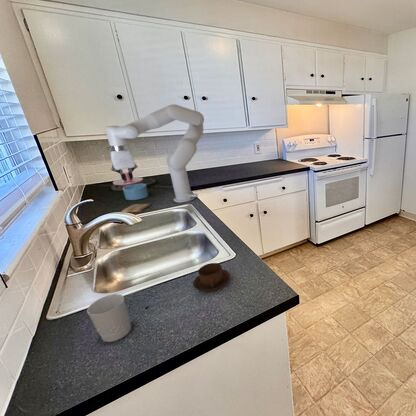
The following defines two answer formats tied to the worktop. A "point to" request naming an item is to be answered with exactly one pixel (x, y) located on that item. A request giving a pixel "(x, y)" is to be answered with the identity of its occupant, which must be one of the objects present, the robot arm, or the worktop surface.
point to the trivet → (136, 208)
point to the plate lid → (127, 180)
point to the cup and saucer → (211, 277)
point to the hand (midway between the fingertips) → (128, 179)
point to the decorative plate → (145, 181)
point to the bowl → (135, 191)
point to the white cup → (110, 317)
